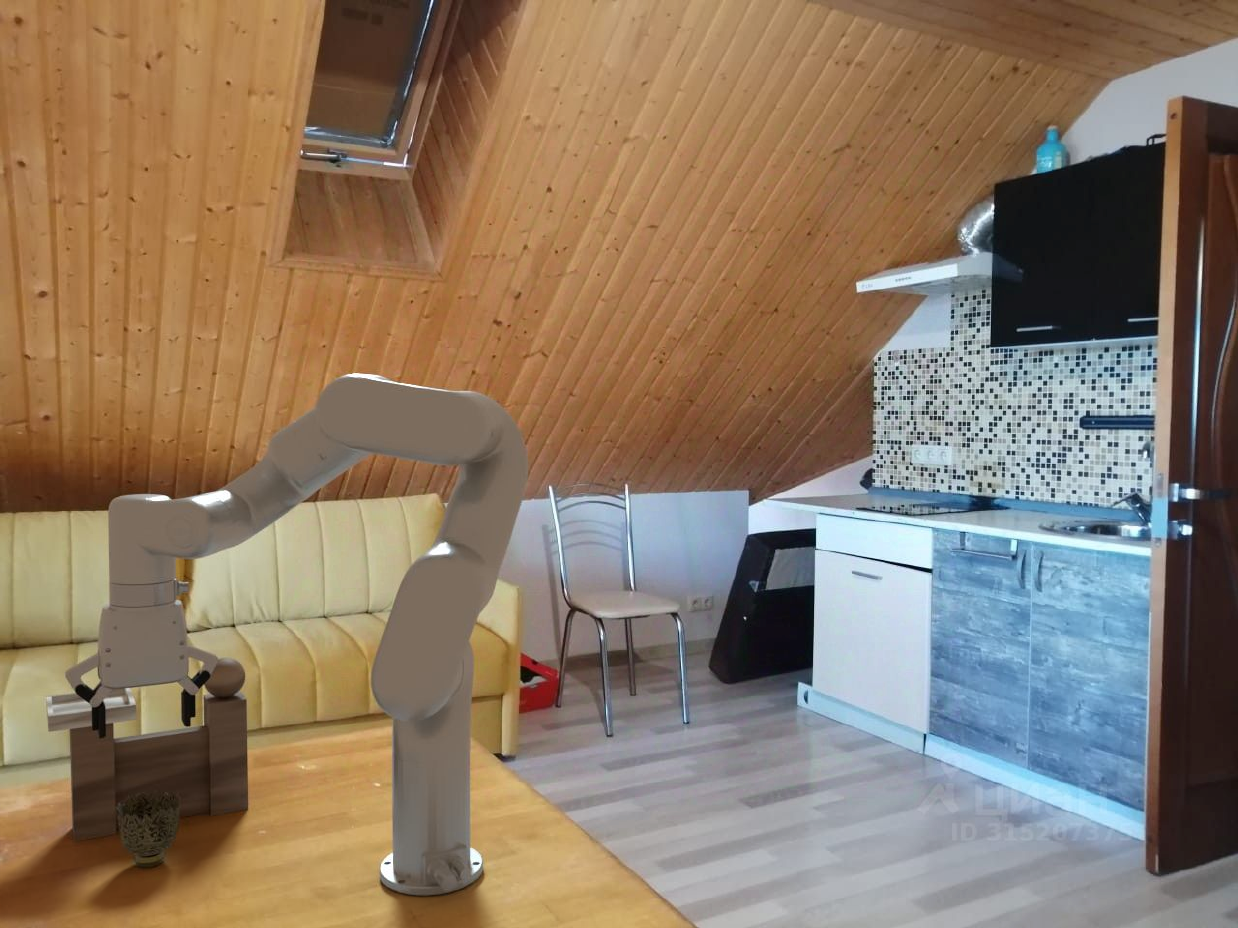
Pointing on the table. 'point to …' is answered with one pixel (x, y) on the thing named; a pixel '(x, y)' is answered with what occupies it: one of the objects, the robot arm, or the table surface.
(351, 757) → the table surface
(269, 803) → the table surface
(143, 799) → the cup
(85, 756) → the headboard
